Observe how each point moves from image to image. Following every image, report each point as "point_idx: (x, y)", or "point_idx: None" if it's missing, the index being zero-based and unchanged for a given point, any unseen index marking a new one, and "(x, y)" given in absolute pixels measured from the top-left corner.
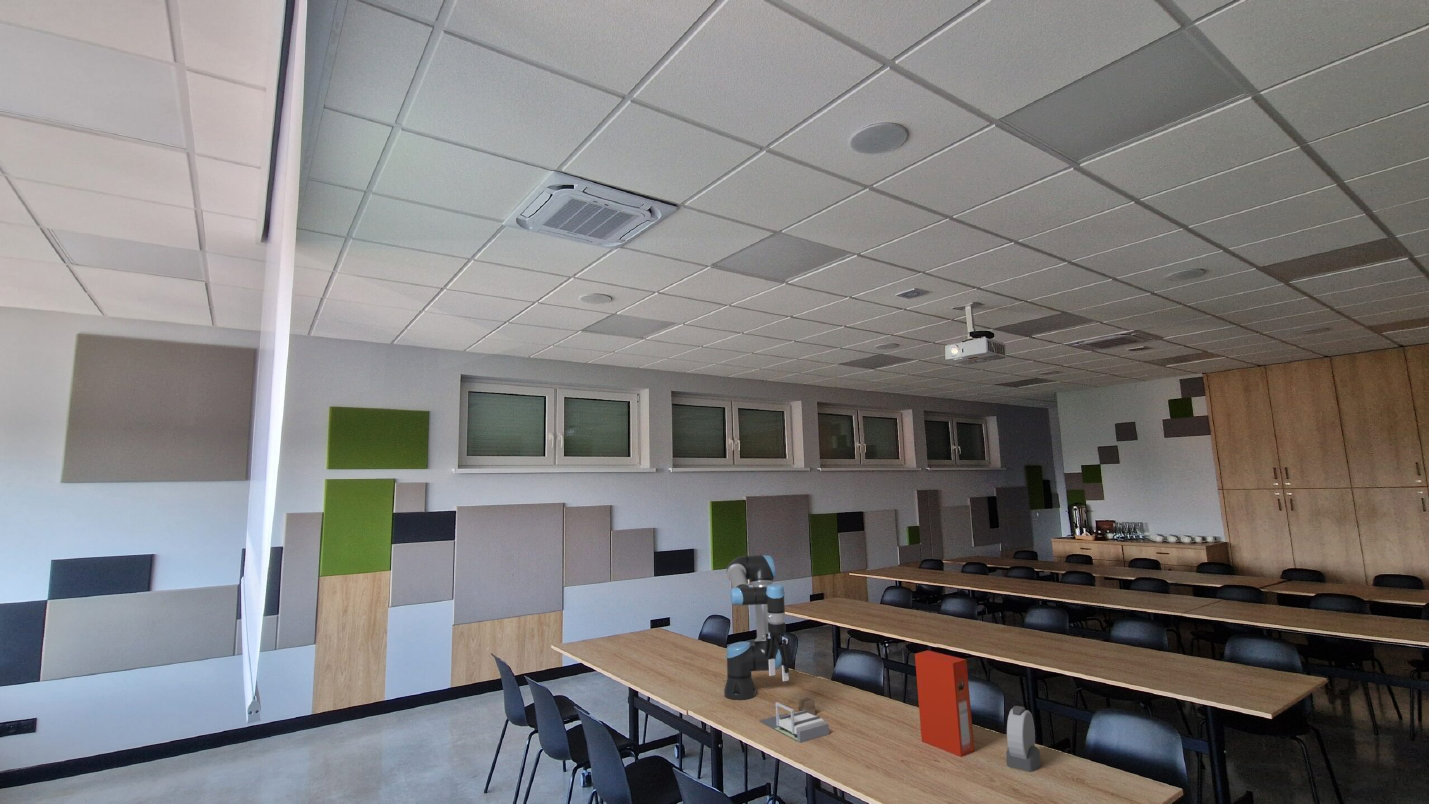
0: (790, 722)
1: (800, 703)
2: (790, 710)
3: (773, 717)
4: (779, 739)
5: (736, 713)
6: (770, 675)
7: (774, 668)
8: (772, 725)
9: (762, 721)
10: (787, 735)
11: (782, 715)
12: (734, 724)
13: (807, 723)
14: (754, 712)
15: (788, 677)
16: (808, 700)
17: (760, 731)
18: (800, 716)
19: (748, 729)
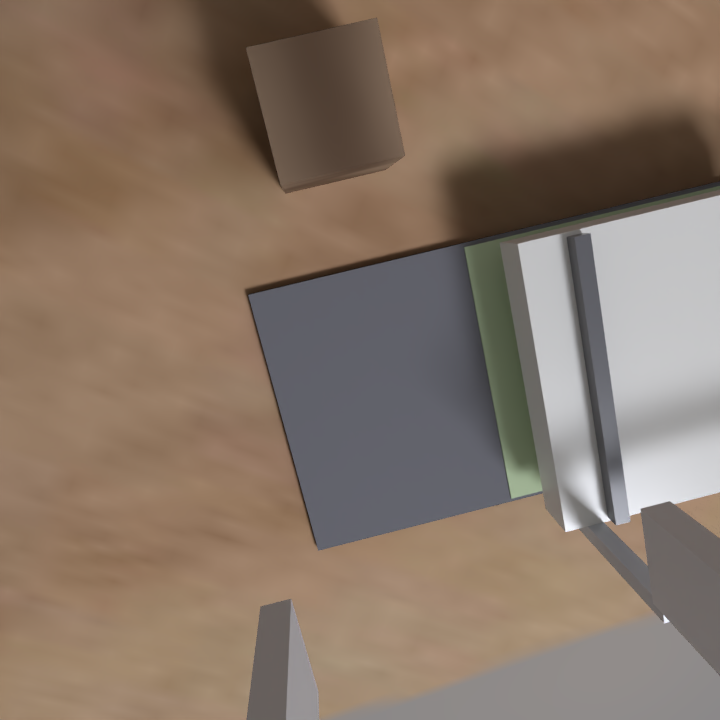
0: (708, 465)
1: (320, 178)
2: None
3: (296, 428)
4: None
5: (97, 650)
6: (317, 691)
7: (292, 691)
8: (449, 493)
9: (344, 532)
10: None
11: (281, 345)
12: None
13: None
14: (120, 521)
15: (698, 527)
16: (347, 84)
17: (502, 596)
18: (632, 333)
19: (436, 655)
